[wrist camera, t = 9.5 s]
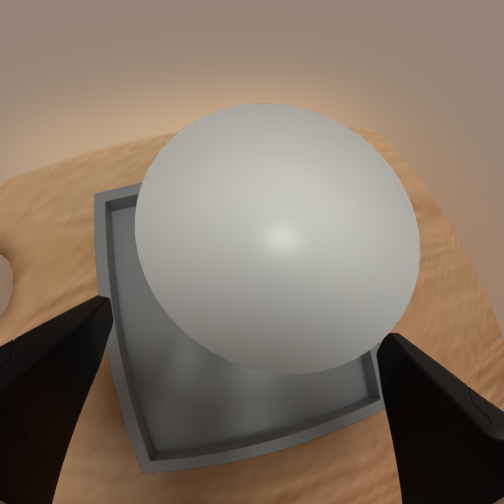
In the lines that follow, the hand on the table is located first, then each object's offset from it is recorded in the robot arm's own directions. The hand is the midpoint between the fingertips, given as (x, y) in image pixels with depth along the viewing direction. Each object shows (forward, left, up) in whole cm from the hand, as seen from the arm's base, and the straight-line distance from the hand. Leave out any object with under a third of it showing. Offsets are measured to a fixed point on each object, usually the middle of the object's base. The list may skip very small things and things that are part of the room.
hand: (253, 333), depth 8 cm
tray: (+2, -1, -10) cm, 10 cm away
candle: (+2, -1, -9) cm, 9 cm away
